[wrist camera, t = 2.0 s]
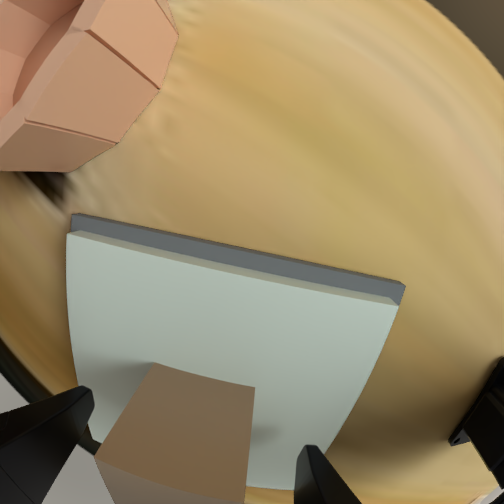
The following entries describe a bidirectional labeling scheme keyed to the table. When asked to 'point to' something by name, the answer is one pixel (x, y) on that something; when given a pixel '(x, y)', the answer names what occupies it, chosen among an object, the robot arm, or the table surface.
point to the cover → (211, 368)
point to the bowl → (76, 76)
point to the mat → (239, 256)
